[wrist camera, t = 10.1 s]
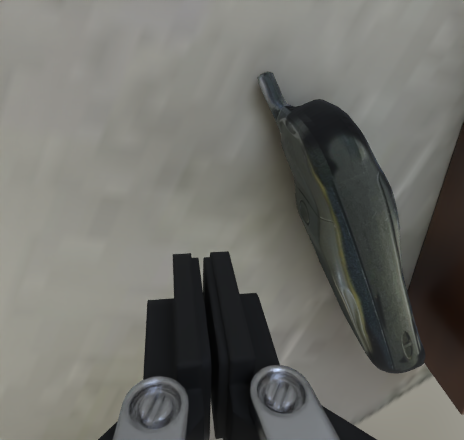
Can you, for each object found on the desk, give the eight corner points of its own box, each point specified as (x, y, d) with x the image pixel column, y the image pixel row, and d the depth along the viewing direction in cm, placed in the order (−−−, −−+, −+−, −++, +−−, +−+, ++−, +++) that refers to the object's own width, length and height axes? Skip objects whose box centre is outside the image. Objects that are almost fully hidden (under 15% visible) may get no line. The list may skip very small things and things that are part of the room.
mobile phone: (443, 368, 18) (367, 67, 11) (384, 393, 19) (268, 117, 11) (390, 298, 22) (309, 47, 15) (342, 319, 23) (239, 83, 15)
